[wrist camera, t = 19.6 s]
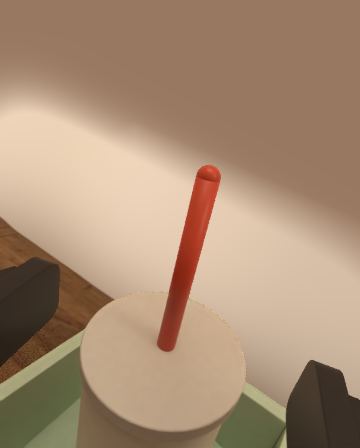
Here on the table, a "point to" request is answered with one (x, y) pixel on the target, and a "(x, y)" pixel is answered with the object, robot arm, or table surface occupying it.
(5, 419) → the bin
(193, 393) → the straw cup
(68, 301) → the table surface
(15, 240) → the table surface
